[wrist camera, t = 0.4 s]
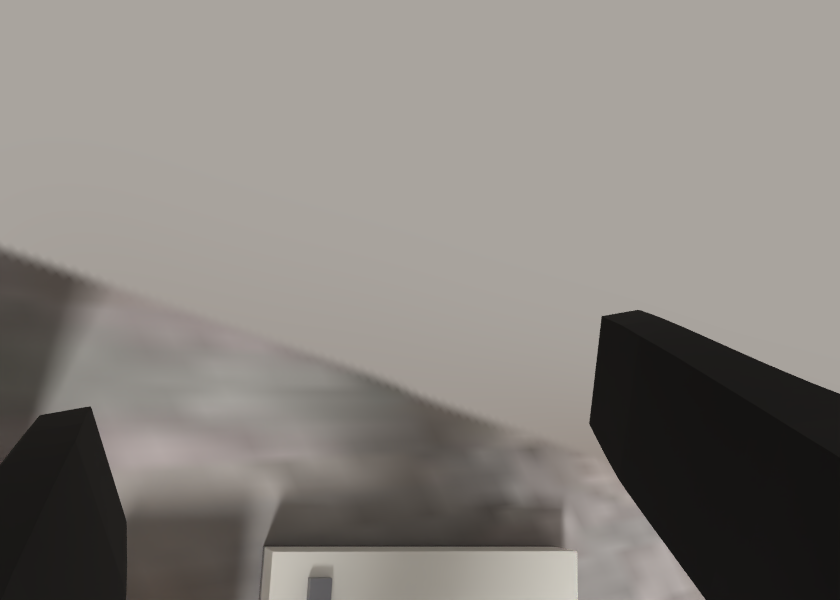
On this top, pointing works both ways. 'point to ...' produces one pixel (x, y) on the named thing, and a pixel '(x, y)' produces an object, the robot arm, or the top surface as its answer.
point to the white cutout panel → (418, 573)
